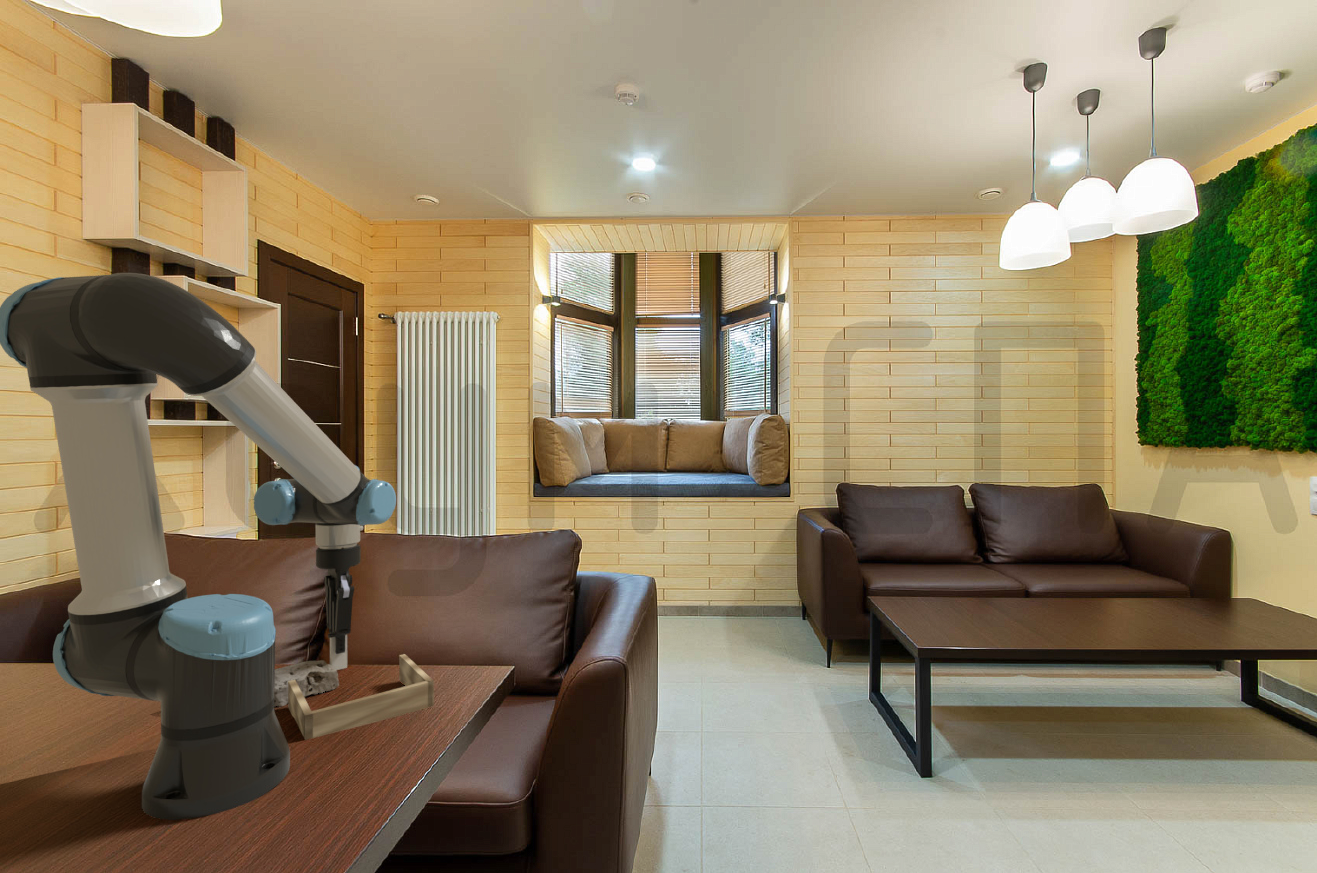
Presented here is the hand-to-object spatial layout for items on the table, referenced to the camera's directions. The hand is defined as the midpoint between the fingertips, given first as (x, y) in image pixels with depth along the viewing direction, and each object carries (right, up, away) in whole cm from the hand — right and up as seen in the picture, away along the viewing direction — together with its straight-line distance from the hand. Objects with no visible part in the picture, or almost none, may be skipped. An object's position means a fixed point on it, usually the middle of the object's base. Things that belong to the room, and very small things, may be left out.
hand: (338, 668), depth 111 cm
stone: (+1, 0, -8) cm, 9 cm away
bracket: (+11, -2, -12) cm, 16 cm away
